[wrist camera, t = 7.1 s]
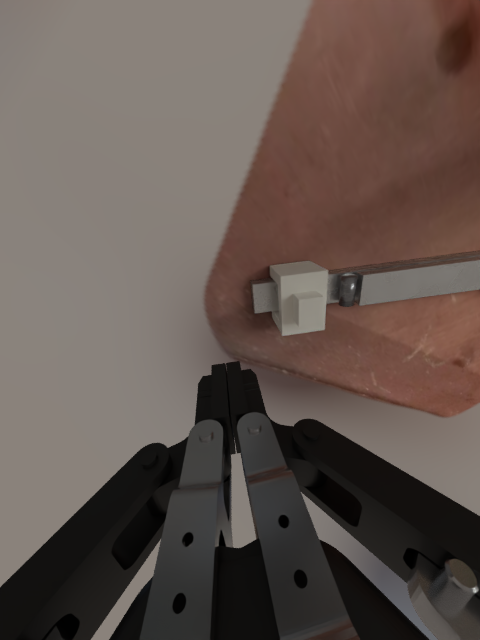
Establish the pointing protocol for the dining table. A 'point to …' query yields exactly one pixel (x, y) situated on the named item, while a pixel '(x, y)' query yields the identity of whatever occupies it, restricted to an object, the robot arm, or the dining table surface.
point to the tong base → (336, 282)
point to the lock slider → (300, 297)
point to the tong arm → (417, 280)
